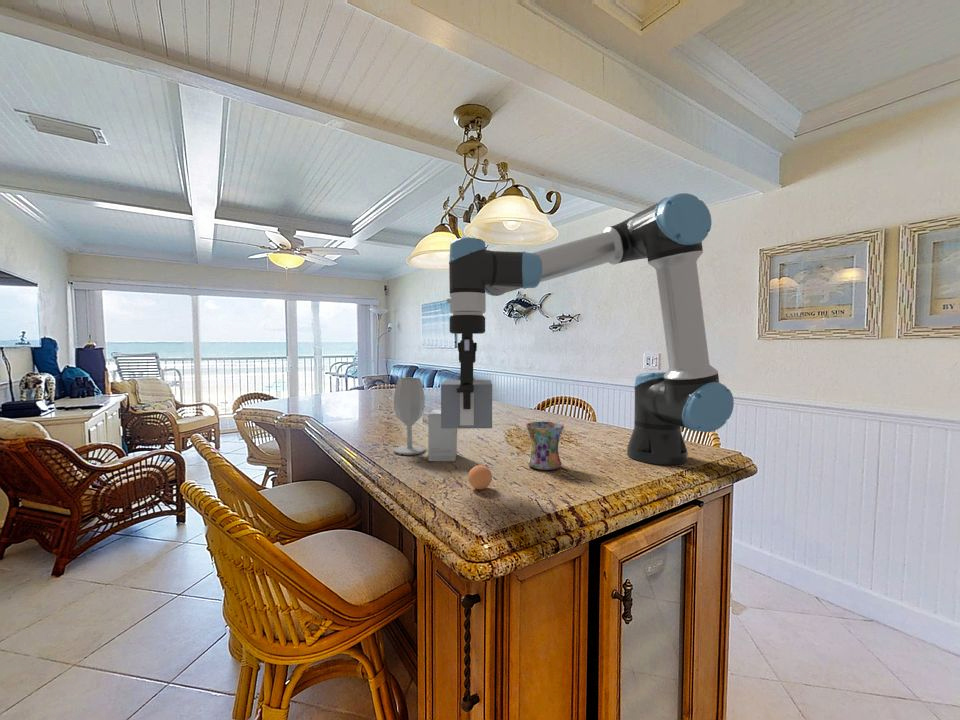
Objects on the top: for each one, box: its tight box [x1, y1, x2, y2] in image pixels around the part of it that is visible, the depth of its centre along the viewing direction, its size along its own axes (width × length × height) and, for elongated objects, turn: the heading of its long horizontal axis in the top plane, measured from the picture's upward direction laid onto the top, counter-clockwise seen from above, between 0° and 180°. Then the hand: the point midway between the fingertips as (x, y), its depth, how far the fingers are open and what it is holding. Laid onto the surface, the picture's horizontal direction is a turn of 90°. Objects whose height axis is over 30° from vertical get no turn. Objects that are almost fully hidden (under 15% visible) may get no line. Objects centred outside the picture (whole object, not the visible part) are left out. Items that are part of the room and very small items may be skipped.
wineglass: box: [392, 376, 427, 456], centre depth 118 cm, size 9×9×21 cm
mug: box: [525, 420, 565, 471], centre depth 106 cm, size 12×9×11 cm
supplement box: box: [427, 409, 458, 462], centre depth 112 cm, size 7×7×13 cm
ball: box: [467, 464, 493, 490], centre depth 89 cm, size 5×5×5 cm
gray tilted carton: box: [440, 379, 493, 429], centre depth 88 cm, size 10×10×9 cm
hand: (467, 419), depth 88 cm, fingers closed on gray tilted carton, 10 cm apart
